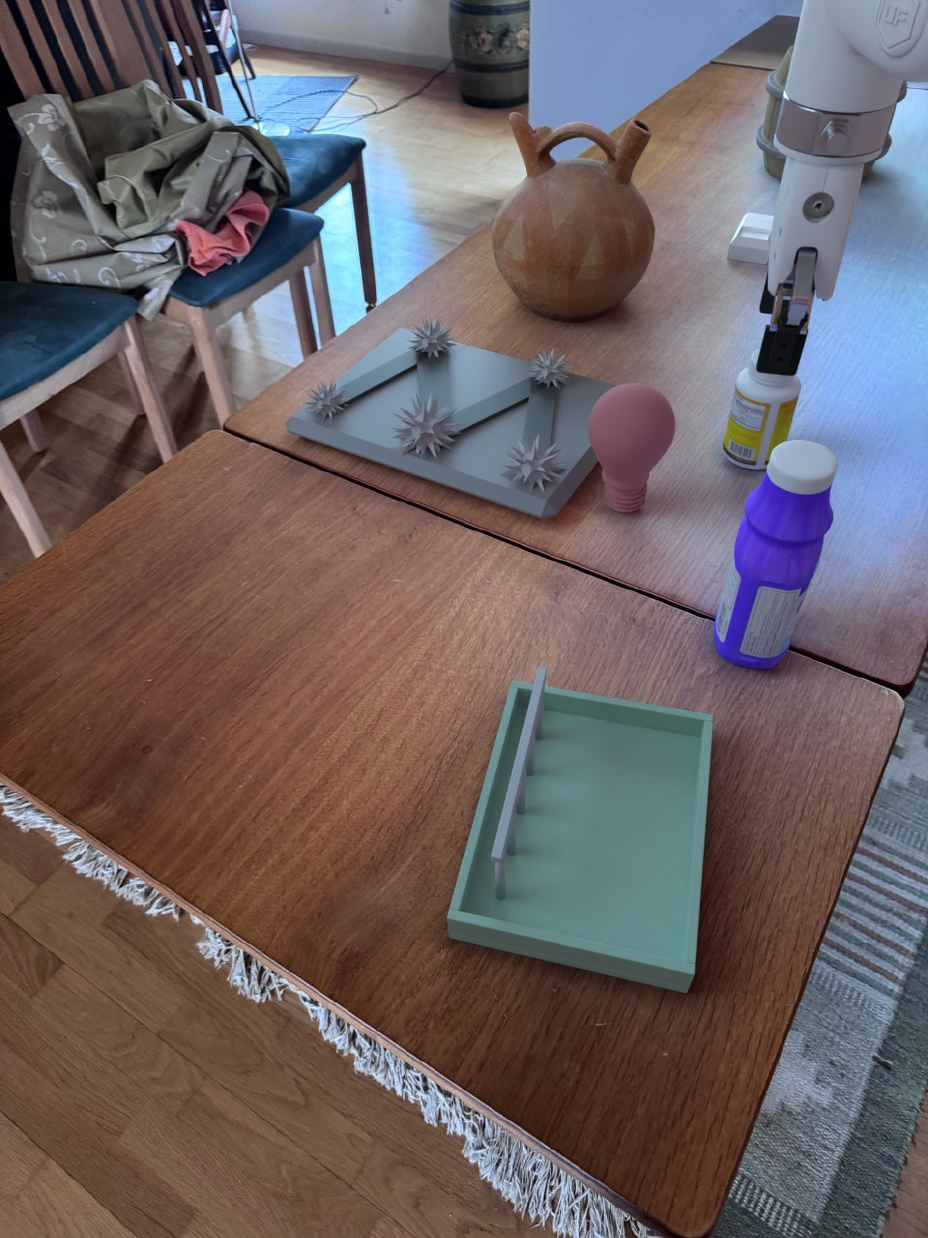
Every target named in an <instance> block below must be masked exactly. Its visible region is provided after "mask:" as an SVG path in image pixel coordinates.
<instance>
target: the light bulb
mask: <svg viewBox="0 0 928 1238" xmlns="http://www.w3.org/2000/svg"><path fill="white" fill-rule="evenodd" d="M675 418H676V417H675V413H674V410H673V407H672V406H671V404H670V401H669V400H668V399H667V398H666V396H665V395H663V393H661V392H660V391H659V390H658V389H656V387H655V388H654V387H652V386H650V385H648V384H646V383H641V382H640V383H639V382H638V383H637V382H627V383H621V384H619V385H618V386H616V387H614V388H612V389H610V390H609V391H607V392H606V393H605V394H603V395H602V396H601V397H600V398H599V400H598V401H597V402H596V404H595V405H594V407H593V409H592V411H591V414H590V417H589V422H588V435H589V440H590V443H591V446H592V448H593V450H594V452H595V455H596V457H597V459H598V460H599V461H598V463H599V464H600V466H601V467H602V471H601V475H602V479H603V481H604V482H605V494H606V496H605V497H606V498H605V501H606V504H607V506H608V507H609V508H611V509H612V510H614V511H616V512H618V513H619V512H620V513H631V512H634V511H637V510H639V509H641V508H642V507H643V506H644V504H645V502H646V497H647V494H648V493H647V492H648V485H649V484H648V482H649V479H650V472H651V471H652V470H653V469H654V468H655V467H656V466H657V465H658V464H659V463H660V461H661V460H662V458H663V457H665V454H666V453H668V451H669V449H670V447H671V445H672V443H673V440H674V437H675V434H676V433H675V432H676V419H675Z"/></svg>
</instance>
